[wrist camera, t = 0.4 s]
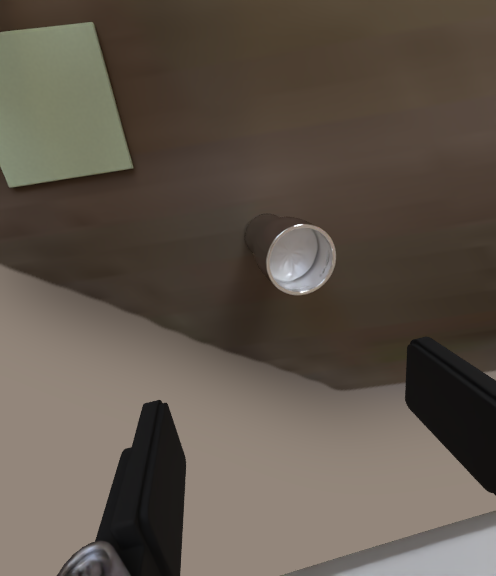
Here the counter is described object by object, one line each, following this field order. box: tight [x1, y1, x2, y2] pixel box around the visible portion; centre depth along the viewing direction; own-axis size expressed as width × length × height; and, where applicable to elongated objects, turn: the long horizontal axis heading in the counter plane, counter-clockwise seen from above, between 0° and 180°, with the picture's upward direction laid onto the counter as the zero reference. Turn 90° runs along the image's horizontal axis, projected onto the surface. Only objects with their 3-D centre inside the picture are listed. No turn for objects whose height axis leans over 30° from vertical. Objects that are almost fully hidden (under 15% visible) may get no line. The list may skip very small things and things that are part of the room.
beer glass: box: [245, 214, 336, 295], centre depth 33 cm, size 7×7×15 cm
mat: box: [0, 22, 133, 188], centre depth 31 cm, size 14×14×1 cm
